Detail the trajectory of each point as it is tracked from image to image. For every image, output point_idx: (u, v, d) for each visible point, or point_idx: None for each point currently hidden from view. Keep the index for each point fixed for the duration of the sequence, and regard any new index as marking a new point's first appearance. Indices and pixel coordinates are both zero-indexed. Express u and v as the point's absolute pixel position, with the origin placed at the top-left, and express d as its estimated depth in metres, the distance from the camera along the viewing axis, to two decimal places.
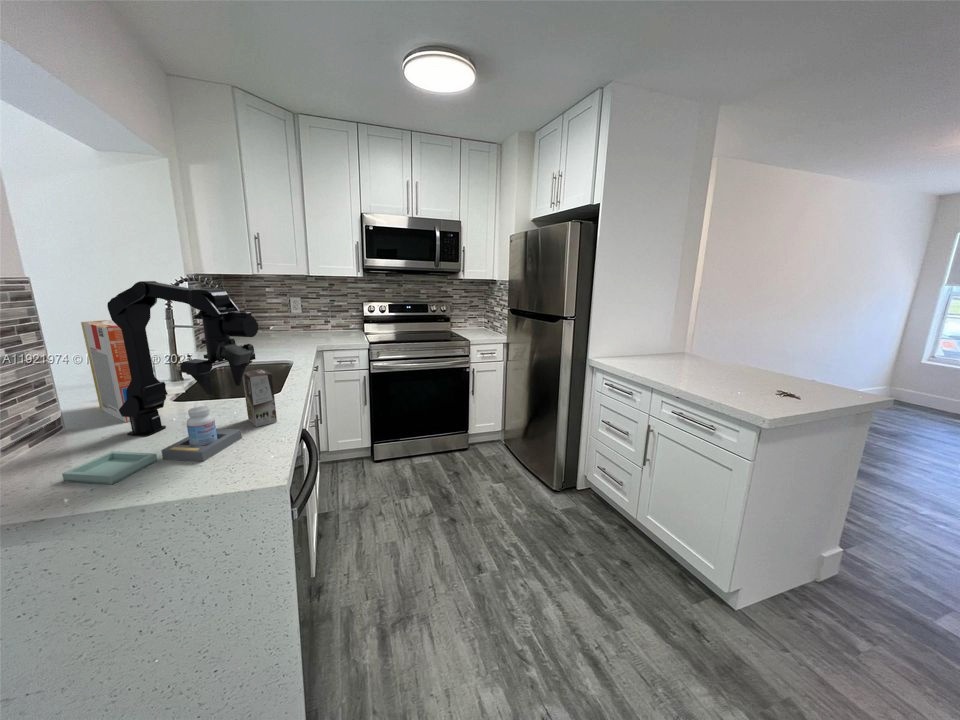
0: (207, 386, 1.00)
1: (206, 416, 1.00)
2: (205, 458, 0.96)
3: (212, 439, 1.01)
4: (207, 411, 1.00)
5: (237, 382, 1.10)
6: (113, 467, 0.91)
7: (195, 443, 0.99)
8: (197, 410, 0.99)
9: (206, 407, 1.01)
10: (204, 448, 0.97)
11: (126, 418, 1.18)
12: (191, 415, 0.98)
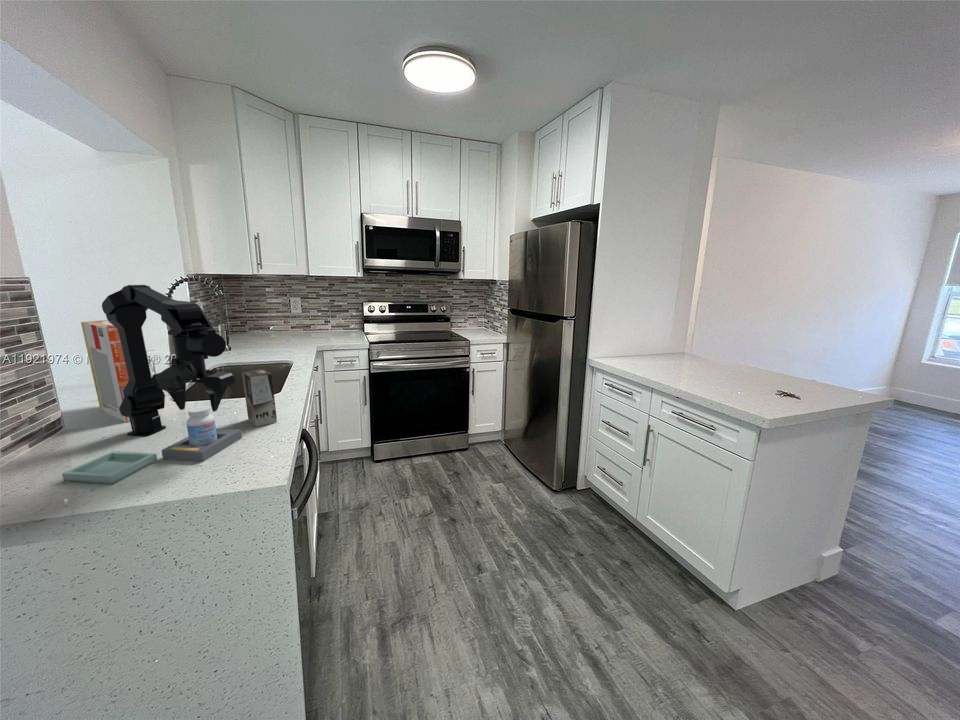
0: None
1: (206, 416, 1.00)
2: (205, 458, 0.96)
3: (212, 439, 1.01)
4: (207, 411, 1.00)
5: None
6: (113, 467, 0.91)
7: (195, 443, 0.99)
8: (197, 410, 0.99)
9: (206, 407, 1.01)
10: (204, 448, 0.97)
11: (126, 418, 1.18)
12: (191, 415, 0.98)
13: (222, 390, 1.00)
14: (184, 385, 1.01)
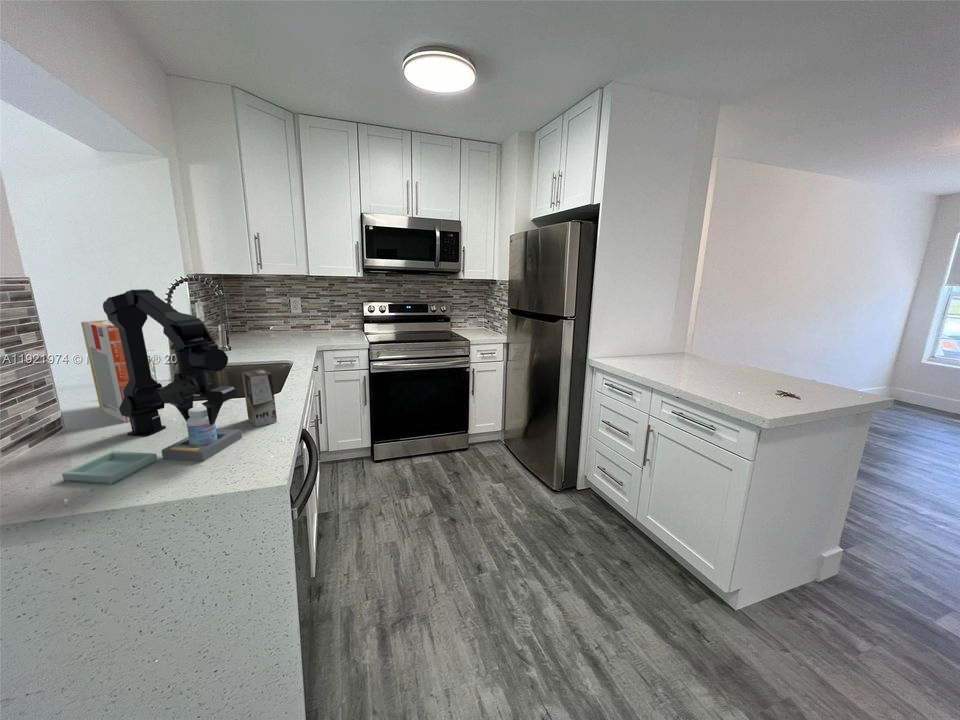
0: None
1: (206, 416, 1.00)
2: (205, 458, 0.96)
3: (212, 439, 1.01)
4: None
5: None
6: (113, 467, 0.91)
7: (195, 443, 0.99)
8: (197, 410, 0.99)
9: None
10: (204, 448, 0.97)
11: (126, 418, 1.18)
12: (191, 415, 0.98)
13: (219, 403, 1.01)
14: (191, 399, 1.02)
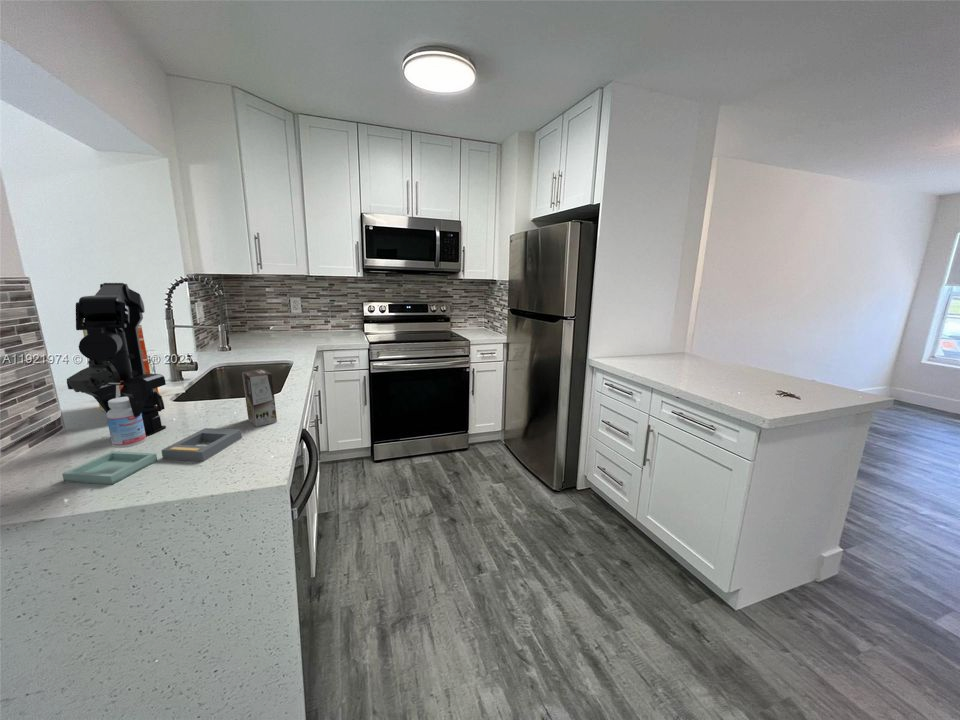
0: None
1: (129, 407, 0.89)
2: (205, 458, 0.96)
3: (137, 433, 0.90)
4: None
5: None
6: (113, 467, 0.91)
7: (116, 438, 0.88)
8: (119, 400, 0.88)
9: None
10: (204, 448, 0.97)
11: None
12: (111, 406, 0.87)
13: (145, 393, 0.90)
14: (114, 388, 0.91)
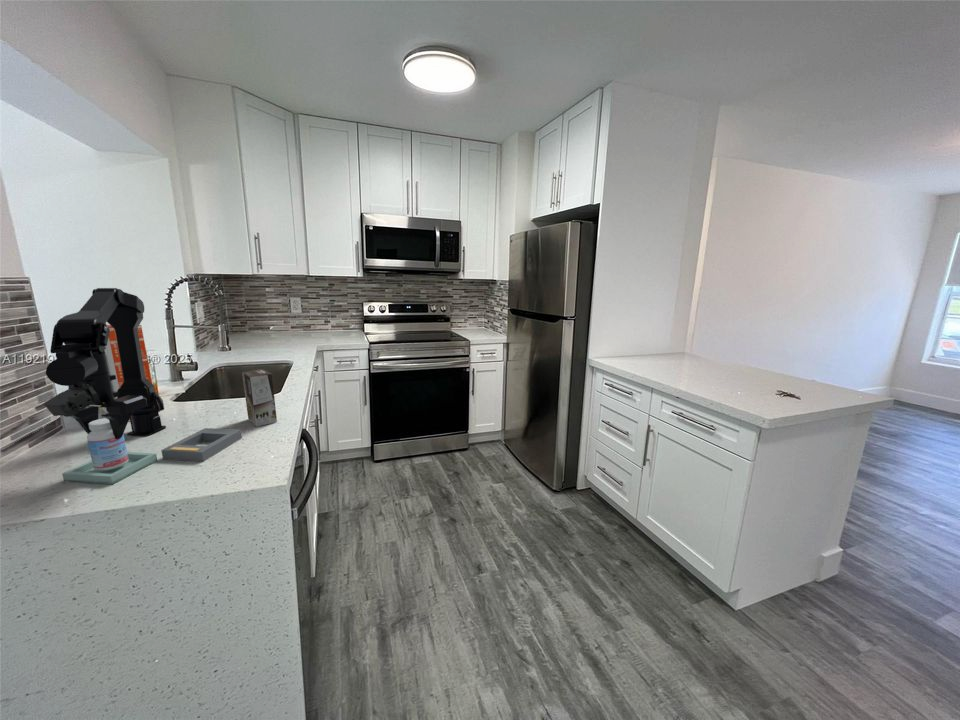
0: None
1: (110, 429, 0.87)
2: (205, 458, 0.96)
3: (119, 455, 0.89)
4: None
5: None
6: None
7: (97, 461, 0.86)
8: (99, 423, 0.86)
9: None
10: (204, 448, 0.97)
11: None
12: (91, 428, 0.86)
13: (127, 415, 0.88)
14: (96, 409, 0.90)
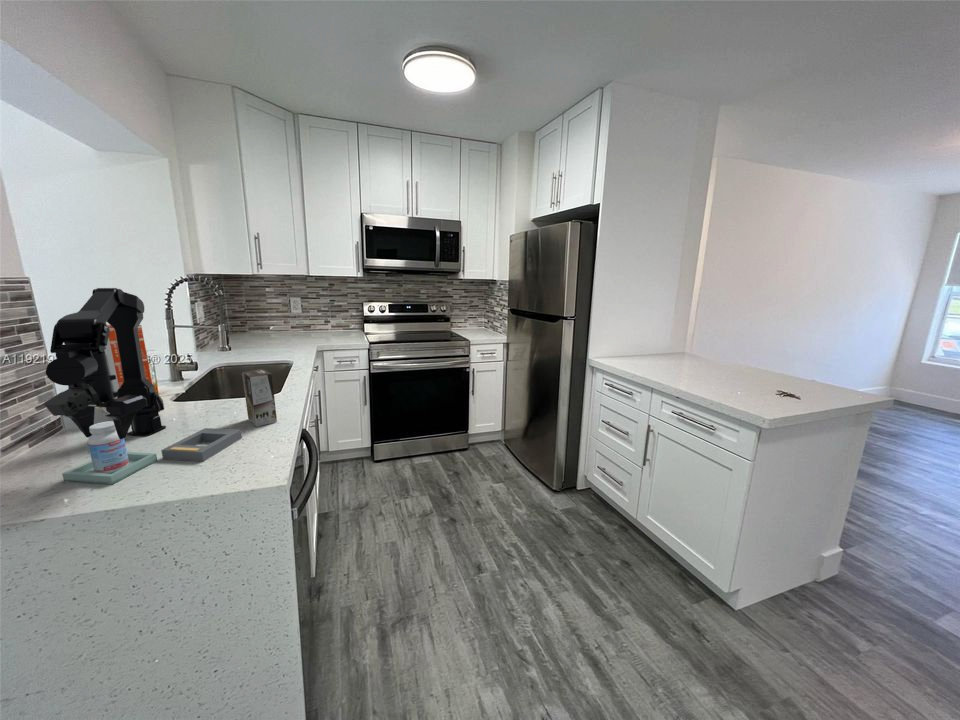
0: None
1: (111, 433, 0.88)
2: (205, 458, 0.96)
3: (119, 459, 0.89)
4: (112, 427, 0.88)
5: None
6: None
7: (97, 464, 0.87)
8: (100, 426, 0.87)
9: (113, 422, 0.89)
10: (204, 448, 0.97)
11: None
12: (92, 432, 0.86)
13: (131, 415, 0.88)
14: (92, 409, 0.90)
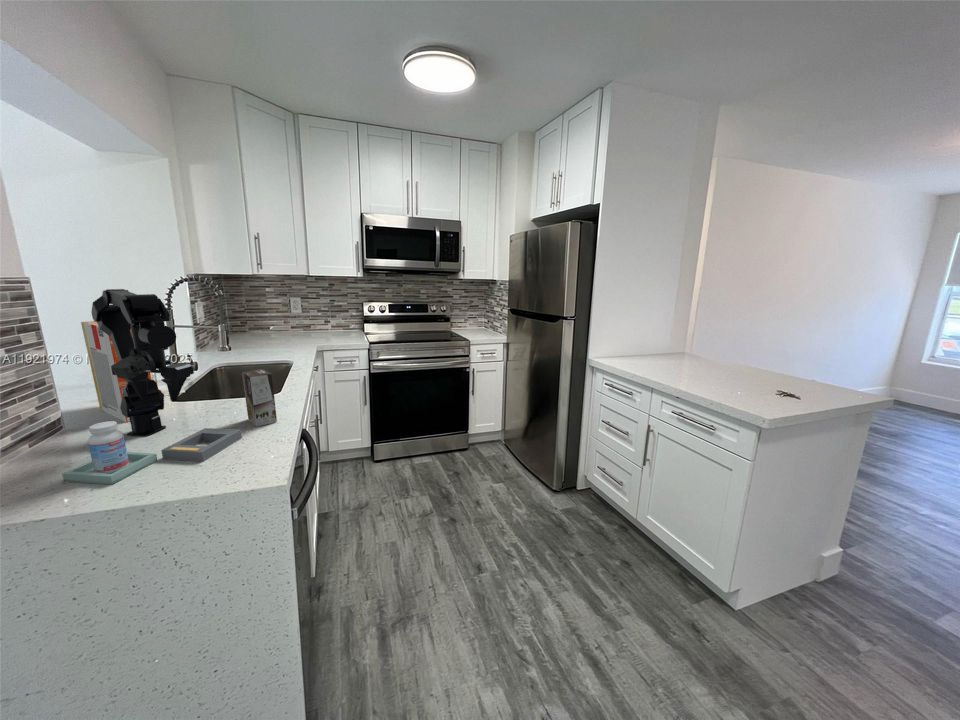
0: None
1: (111, 433, 0.88)
2: (205, 458, 0.96)
3: (119, 459, 0.89)
4: (112, 427, 0.88)
5: None
6: None
7: (97, 464, 0.87)
8: (100, 426, 0.87)
9: (113, 422, 0.89)
10: (204, 448, 0.97)
11: (126, 418, 1.18)
12: (92, 432, 0.86)
13: (181, 381, 1.01)
14: (146, 375, 1.03)
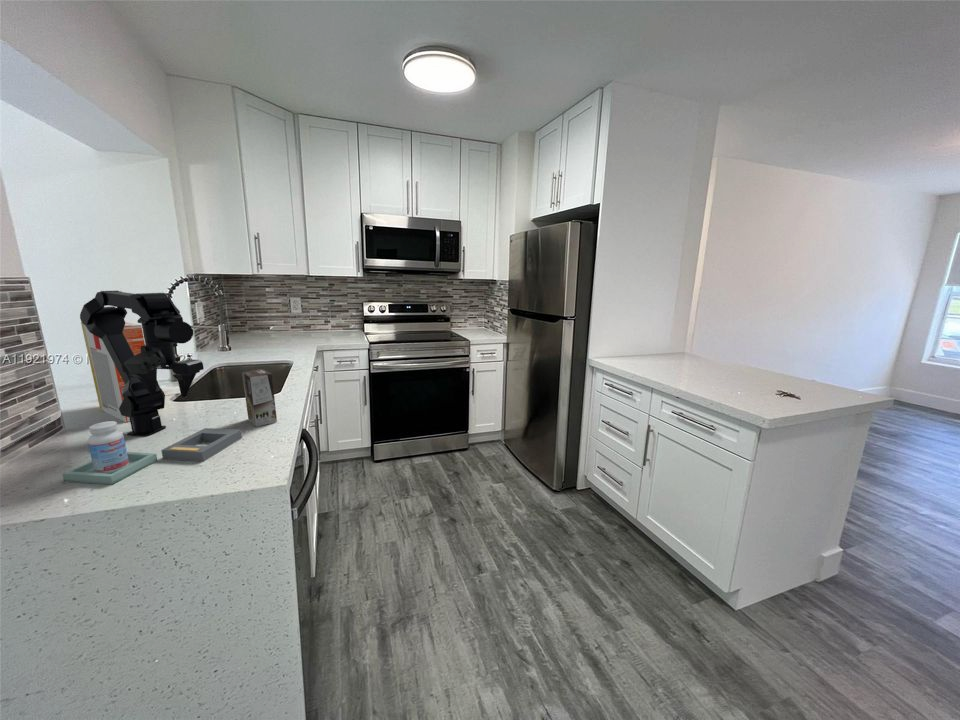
0: None
1: (111, 433, 0.88)
2: (205, 458, 0.96)
3: (119, 459, 0.89)
4: (112, 427, 0.88)
5: None
6: None
7: (97, 464, 0.87)
8: (100, 426, 0.87)
9: (113, 422, 0.89)
10: (204, 448, 0.97)
11: (126, 418, 1.18)
12: (92, 432, 0.86)
13: (191, 376, 1.04)
14: (155, 372, 1.06)
